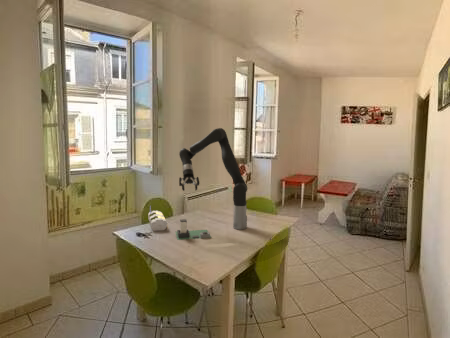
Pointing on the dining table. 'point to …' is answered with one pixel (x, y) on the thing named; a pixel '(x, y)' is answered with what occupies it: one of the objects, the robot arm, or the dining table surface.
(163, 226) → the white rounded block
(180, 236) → the board
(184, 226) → the plug
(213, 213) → the dining table surface
